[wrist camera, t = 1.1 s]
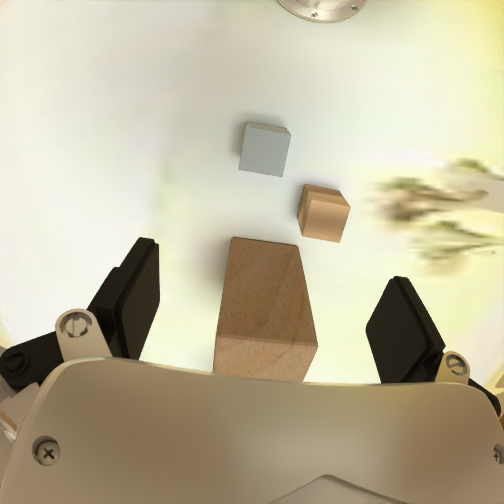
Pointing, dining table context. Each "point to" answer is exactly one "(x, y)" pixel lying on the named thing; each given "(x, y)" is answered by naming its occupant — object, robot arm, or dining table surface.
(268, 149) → the slate block
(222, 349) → the wooden block
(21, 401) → the robot arm
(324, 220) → the oak block
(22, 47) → the dining table surface
